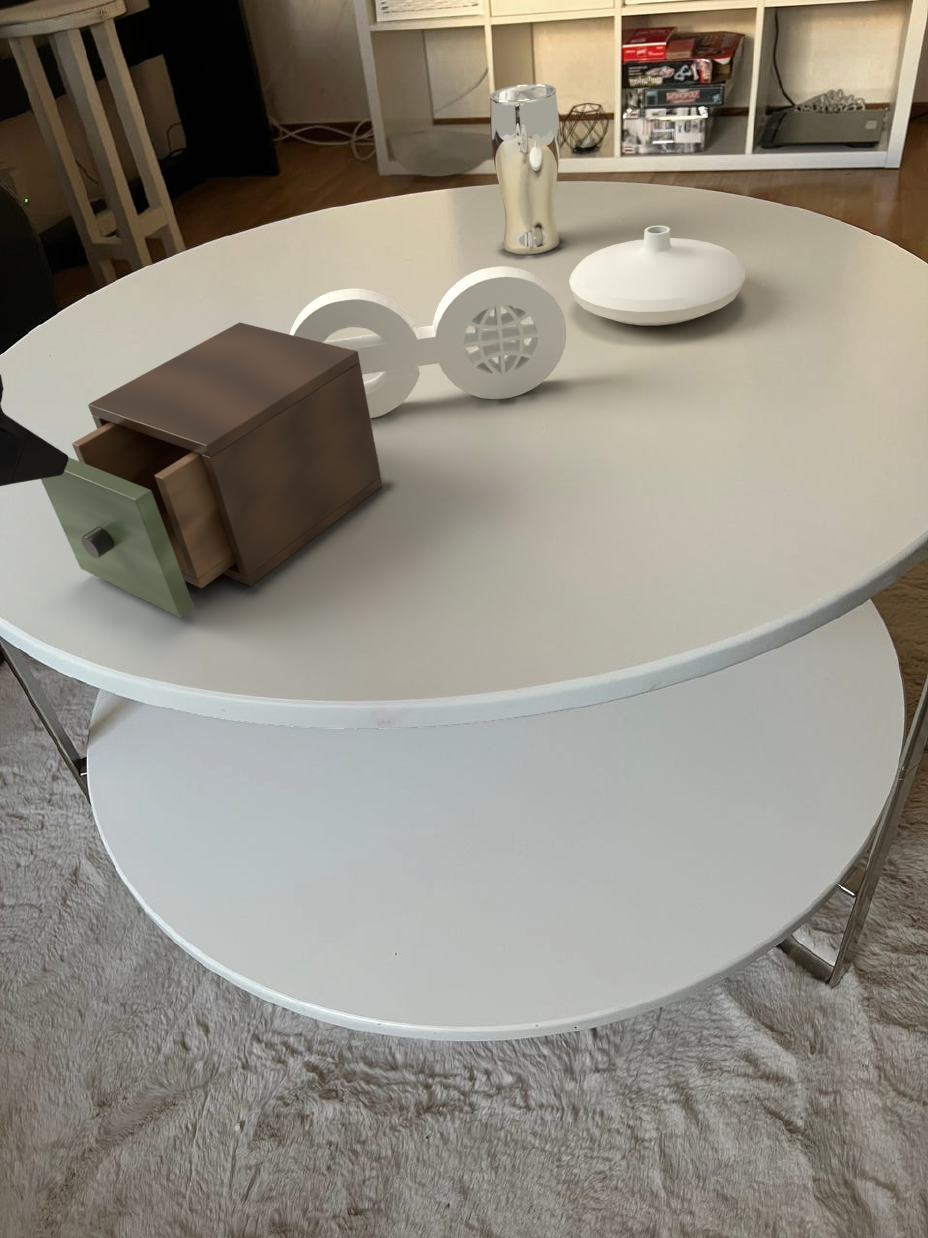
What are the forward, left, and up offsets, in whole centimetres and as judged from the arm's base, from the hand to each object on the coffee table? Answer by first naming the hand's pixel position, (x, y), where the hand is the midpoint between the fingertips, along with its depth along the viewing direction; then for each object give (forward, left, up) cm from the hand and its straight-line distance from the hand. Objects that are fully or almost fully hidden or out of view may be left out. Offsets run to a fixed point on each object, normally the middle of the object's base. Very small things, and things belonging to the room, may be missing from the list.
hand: (16, 444), depth 54 cm
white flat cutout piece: (+32, +10, -14) cm, 36 cm away
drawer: (+8, +3, -13) cm, 15 cm away
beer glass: (+59, +33, -14) cm, 69 cm away
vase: (+57, +11, -14) cm, 60 cm away
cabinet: (+14, +5, -13) cm, 20 cm away
